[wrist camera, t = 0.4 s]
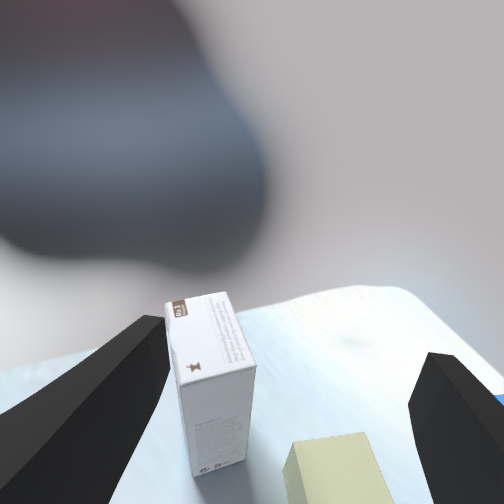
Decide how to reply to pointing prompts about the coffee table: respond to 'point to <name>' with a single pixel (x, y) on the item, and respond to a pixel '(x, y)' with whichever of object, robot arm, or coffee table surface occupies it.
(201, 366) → the skincare box
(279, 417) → the coffee table surface
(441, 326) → the coffee table surface
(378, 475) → the olive cube
